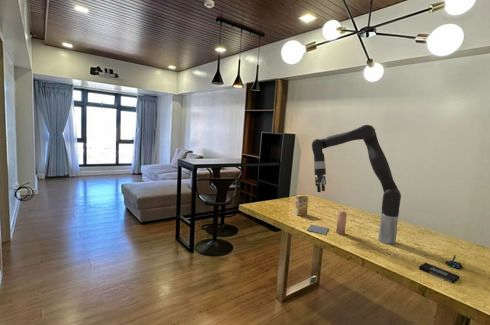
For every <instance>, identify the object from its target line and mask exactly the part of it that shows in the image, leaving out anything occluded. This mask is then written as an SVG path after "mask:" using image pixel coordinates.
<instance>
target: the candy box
mask: <svg viewBox="0 0 490 325" xmlns="http://www.w3.org/2000/svg"><path fill="white" fill-rule="evenodd" d="M308 205H309V196H308V195H307V194H300V195H299V194H297V195H295V206H294V207H295V208H294V210H295V211H294V214H295V215H296V216H307V215H308V208H309V206H308Z"/></svg>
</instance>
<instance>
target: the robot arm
mask: <svg viewBox="0 0 490 325" xmlns="http://www.w3.org/2000/svg"><path fill="white" fill-rule="evenodd" d="M360 140H363V142H364V145H365V147H366V149H367V152H368V160H369V163H370V166H371V167H372V170H373V173H374V174H375V176H376V178H377V179H378V180H379V182H380V184H381V187H382V190H383V196H382V202H381V214H380V221H379V222H380V223H379V231H378V241H379V242H380V243H383V244H387V245H396V241H397V234H398V221H399V215H400V206H401V198H402V194H401V191H400V190H399V188H398V186H397V185H396V183H395V180H394V178H393V174H392V171H391V167H390V165H389V162H388V159H387V157H386V156H385V153H384V151H383V149H382V146H381V144H380V143H379V139H378V137H377V132H376V129H375V127H374V126H373V125H370V124H364V125H362V126H359V127H357V128H355V129H352V130H350V131H347V132H345V131H344V132H341V133H336V134H333V135H329V136H327V137H325V138H321V139H319V138H317V139H313V140H312V142H311V150H312V153H313V169H314V175H315V178H314V180H315V187H316V192H317V193H322V192H326V185H327V181H326V180H327V179H326V176H325V175H326V174H327V171H326V170H327V168H326V161H325V159H326V157H325V154H324V152H323V150H324V149H328V148H330V147H335V146H339V145H341V144H342V145H343V144H345V143H348V142H351V141H352V142H353V141H360ZM321 191H322V192H321Z"/></svg>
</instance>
